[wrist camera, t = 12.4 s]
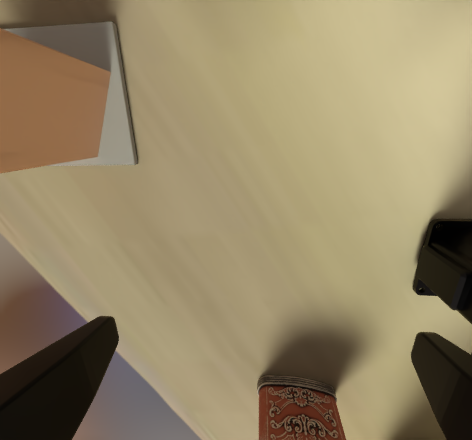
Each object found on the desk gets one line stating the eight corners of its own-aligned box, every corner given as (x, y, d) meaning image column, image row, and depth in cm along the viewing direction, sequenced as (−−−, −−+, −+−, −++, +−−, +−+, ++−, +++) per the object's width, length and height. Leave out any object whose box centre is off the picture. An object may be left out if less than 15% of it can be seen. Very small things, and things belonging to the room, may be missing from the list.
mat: (116, 24, 16) (111, 21, 16) (137, 164, 19) (134, 164, 19) (-8, 33, 17) (-15, 30, 17) (32, 165, 20) (27, 166, 20)
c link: (110, 72, 17) (-41, 14, 8) (97, 156, 19) (-34, 178, 10) (25, 38, 17) (-219, -57, 8) (22, 127, 19) (-175, 126, 10)
